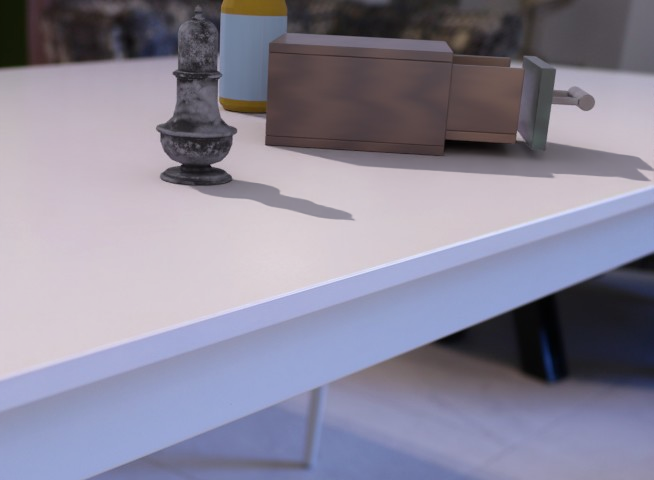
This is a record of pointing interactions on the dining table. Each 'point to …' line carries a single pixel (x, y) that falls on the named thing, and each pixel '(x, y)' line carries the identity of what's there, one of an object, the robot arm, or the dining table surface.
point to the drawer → (505, 100)
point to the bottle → (248, 51)
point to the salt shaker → (196, 110)
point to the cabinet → (358, 93)
